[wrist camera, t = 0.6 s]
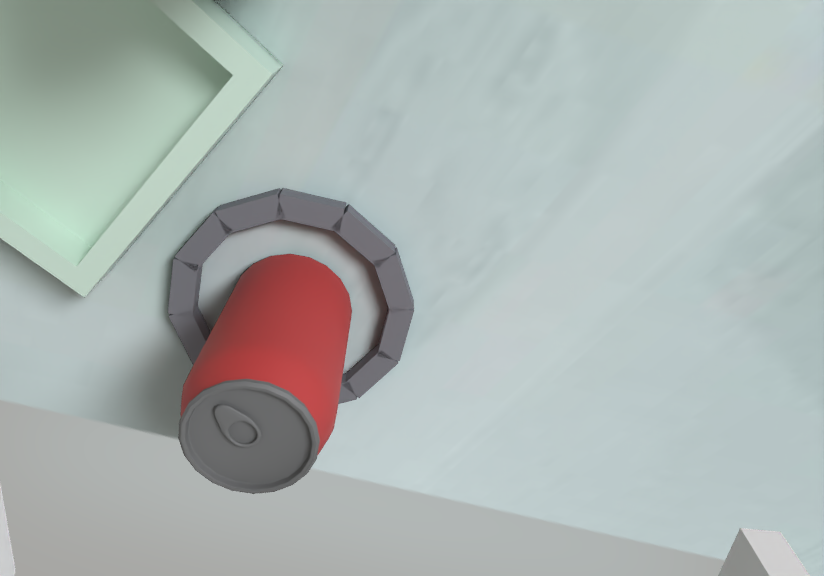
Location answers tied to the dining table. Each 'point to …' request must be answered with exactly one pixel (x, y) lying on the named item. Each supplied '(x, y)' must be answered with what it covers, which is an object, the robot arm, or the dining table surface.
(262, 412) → the beer can
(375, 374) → the socket ring
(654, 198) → the dining table surface
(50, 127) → the bin
